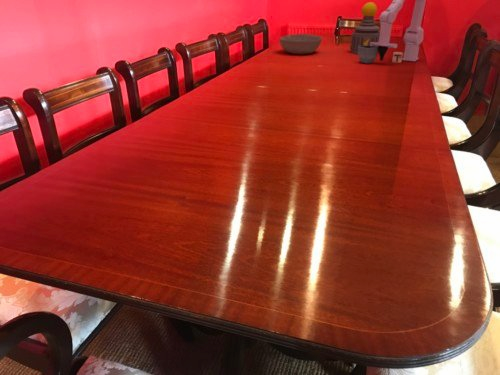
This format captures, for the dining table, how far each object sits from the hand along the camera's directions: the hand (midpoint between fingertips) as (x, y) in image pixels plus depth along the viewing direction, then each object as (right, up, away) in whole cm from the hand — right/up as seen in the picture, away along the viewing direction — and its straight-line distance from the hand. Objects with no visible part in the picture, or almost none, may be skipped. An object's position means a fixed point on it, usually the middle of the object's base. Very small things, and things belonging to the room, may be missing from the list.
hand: (381, 60), depth 224 cm
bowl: (-42, +17, +37) cm, 58 cm away
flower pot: (-7, 0, +5) cm, 8 cm away
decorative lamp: (0, +17, +35) cm, 39 cm away
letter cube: (+11, +1, +7) cm, 13 cm away
